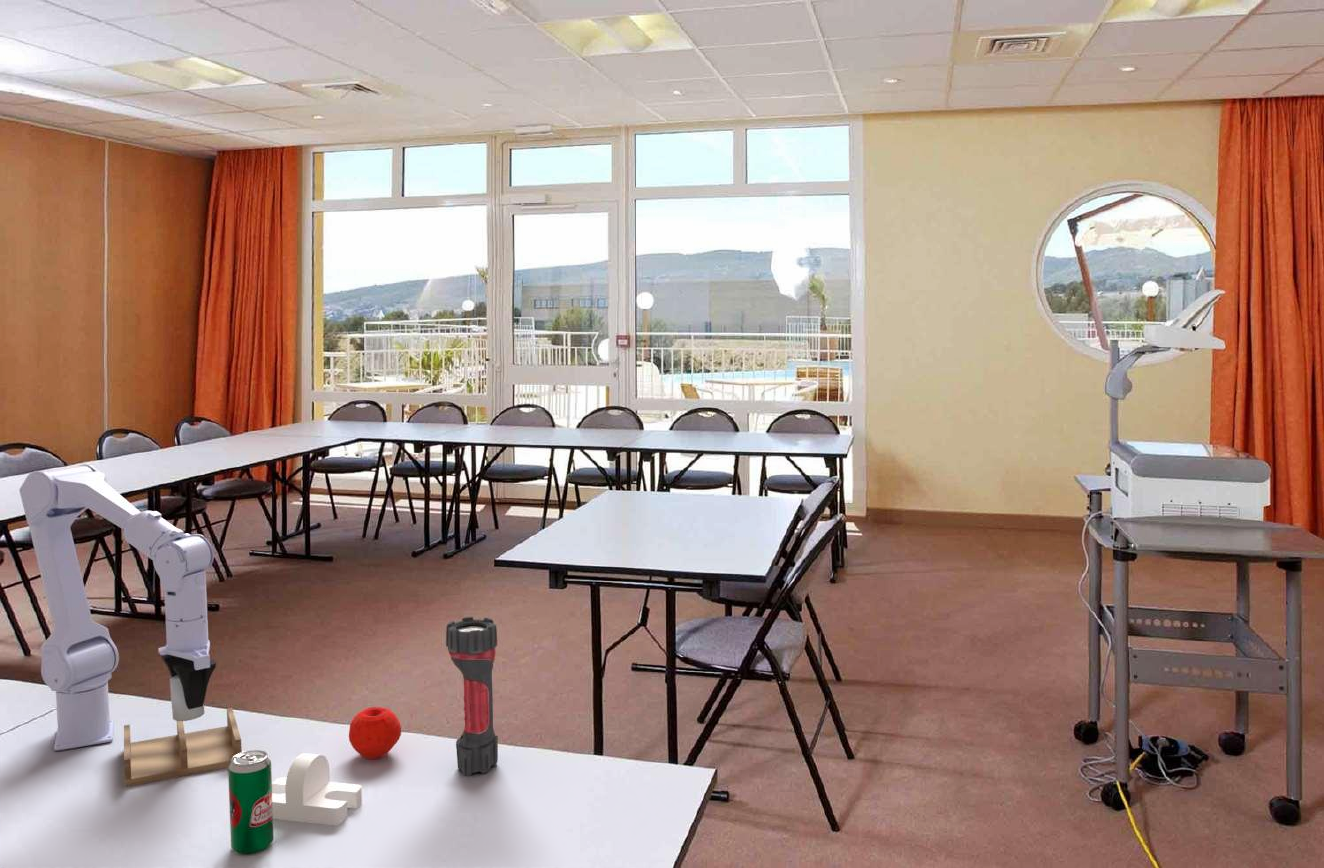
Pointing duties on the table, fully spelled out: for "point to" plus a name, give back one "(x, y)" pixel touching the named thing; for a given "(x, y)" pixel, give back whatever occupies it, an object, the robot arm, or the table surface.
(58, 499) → the robot arm
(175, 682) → the cylinder
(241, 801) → the soda can
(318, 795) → the slotted bracket
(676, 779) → the table surface
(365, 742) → the apple
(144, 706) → the table surface
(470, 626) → the flashlight
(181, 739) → the rack
